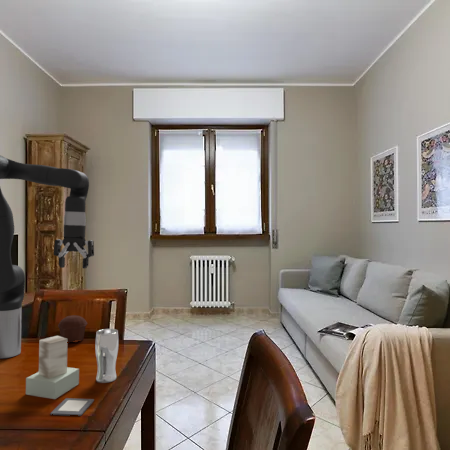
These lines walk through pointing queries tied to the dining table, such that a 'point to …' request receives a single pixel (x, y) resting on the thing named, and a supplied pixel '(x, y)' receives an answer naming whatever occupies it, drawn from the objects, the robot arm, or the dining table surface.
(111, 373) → the beer glass
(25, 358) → the dining table surface
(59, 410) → the tile
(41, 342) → the ivory block
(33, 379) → the sage base block
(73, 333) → the muffin
